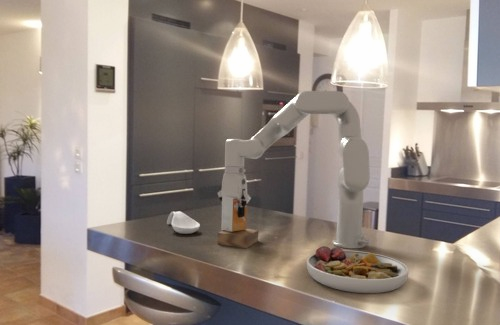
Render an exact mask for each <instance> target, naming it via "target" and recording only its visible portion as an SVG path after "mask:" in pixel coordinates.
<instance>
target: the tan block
mask: <svg viewBox="0 0 500 325" xmlns="http://www.w3.org/2000/svg"><path fill="white" fill-rule="evenodd" d="M257 242H259V229H252V228H246V230H240V231H234V232H230V231H225V230H220V231H219V232H217V245H220V246H221V245H222V246H226V247H227V246H230V247H236V248H242V249H243V248H244V249H248V248H249V247H250V246H252V244H253V245H254V244H255V243H257Z"/></svg>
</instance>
